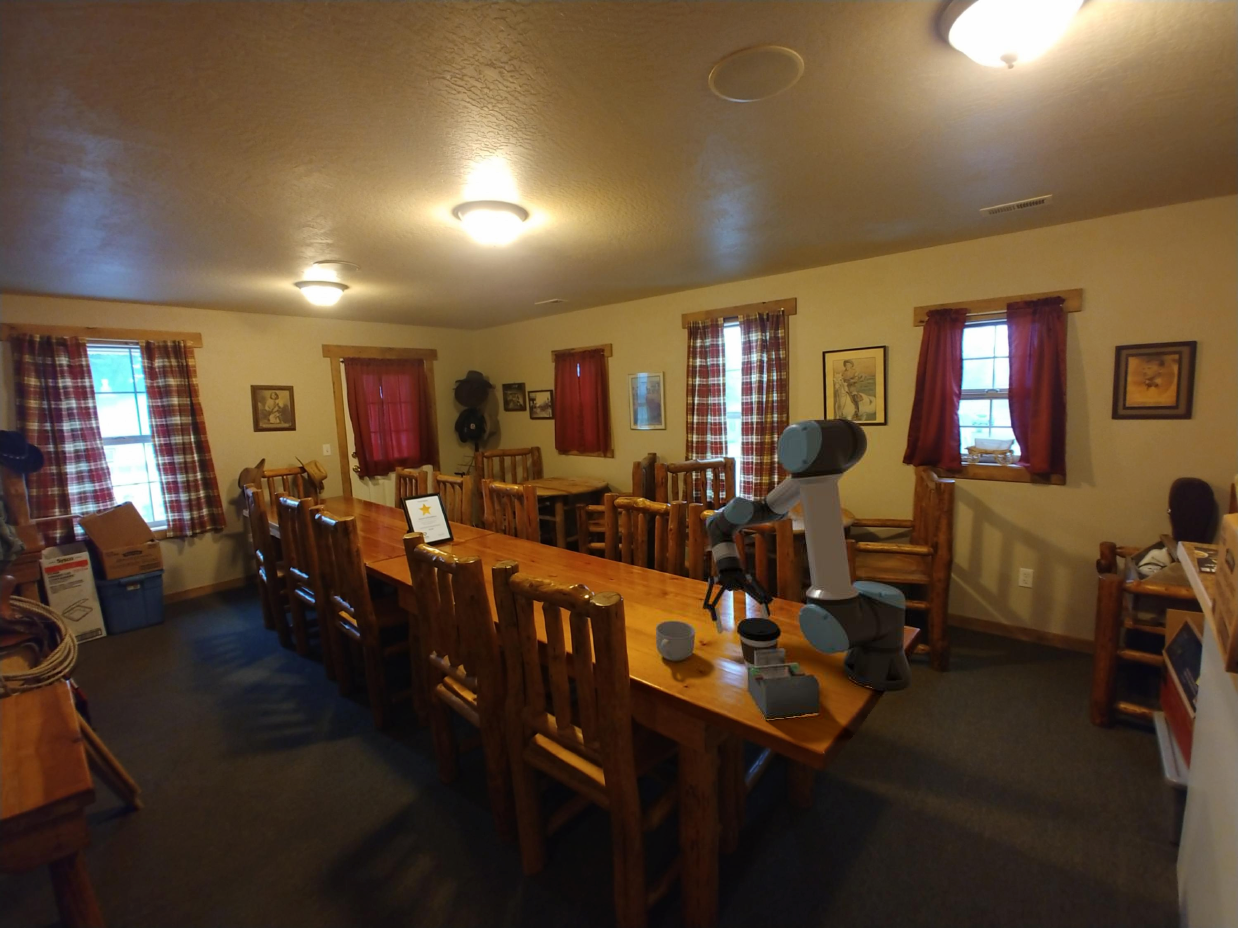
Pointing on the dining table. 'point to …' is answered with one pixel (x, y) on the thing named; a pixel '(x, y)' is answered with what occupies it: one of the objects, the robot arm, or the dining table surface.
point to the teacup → (675, 640)
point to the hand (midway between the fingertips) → (744, 630)
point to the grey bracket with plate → (772, 663)
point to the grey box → (784, 693)
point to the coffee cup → (757, 637)
